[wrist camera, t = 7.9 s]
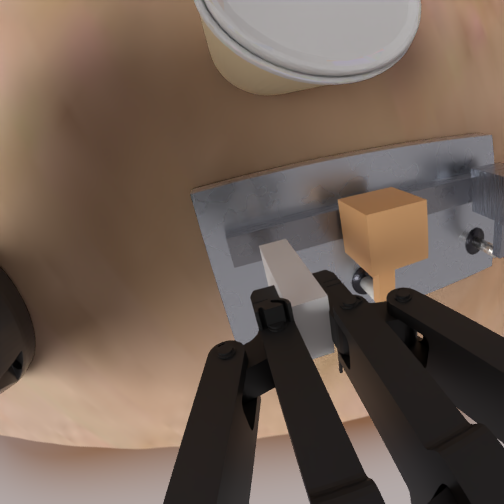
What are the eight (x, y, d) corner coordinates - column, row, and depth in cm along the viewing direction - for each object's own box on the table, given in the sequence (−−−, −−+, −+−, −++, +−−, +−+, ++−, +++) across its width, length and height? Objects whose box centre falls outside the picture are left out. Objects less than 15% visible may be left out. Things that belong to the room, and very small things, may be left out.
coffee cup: (353, 56, 20) (460, 15, 9) (263, 134, 21) (323, 135, 10) (266, -28, 17) (312, -125, 6) (169, 45, 18) (133, -36, 7)
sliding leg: (342, 295, 24) (374, 335, 19) (329, 194, 21) (366, 215, 16) (388, 280, 24) (426, 315, 19) (380, 183, 21) (426, 199, 16)
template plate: (237, 340, 27) (249, 408, 19) (191, 189, 22) (183, 216, 15) (479, 258, 28) (530, 290, 20) (477, 133, 23) (541, 142, 16)
